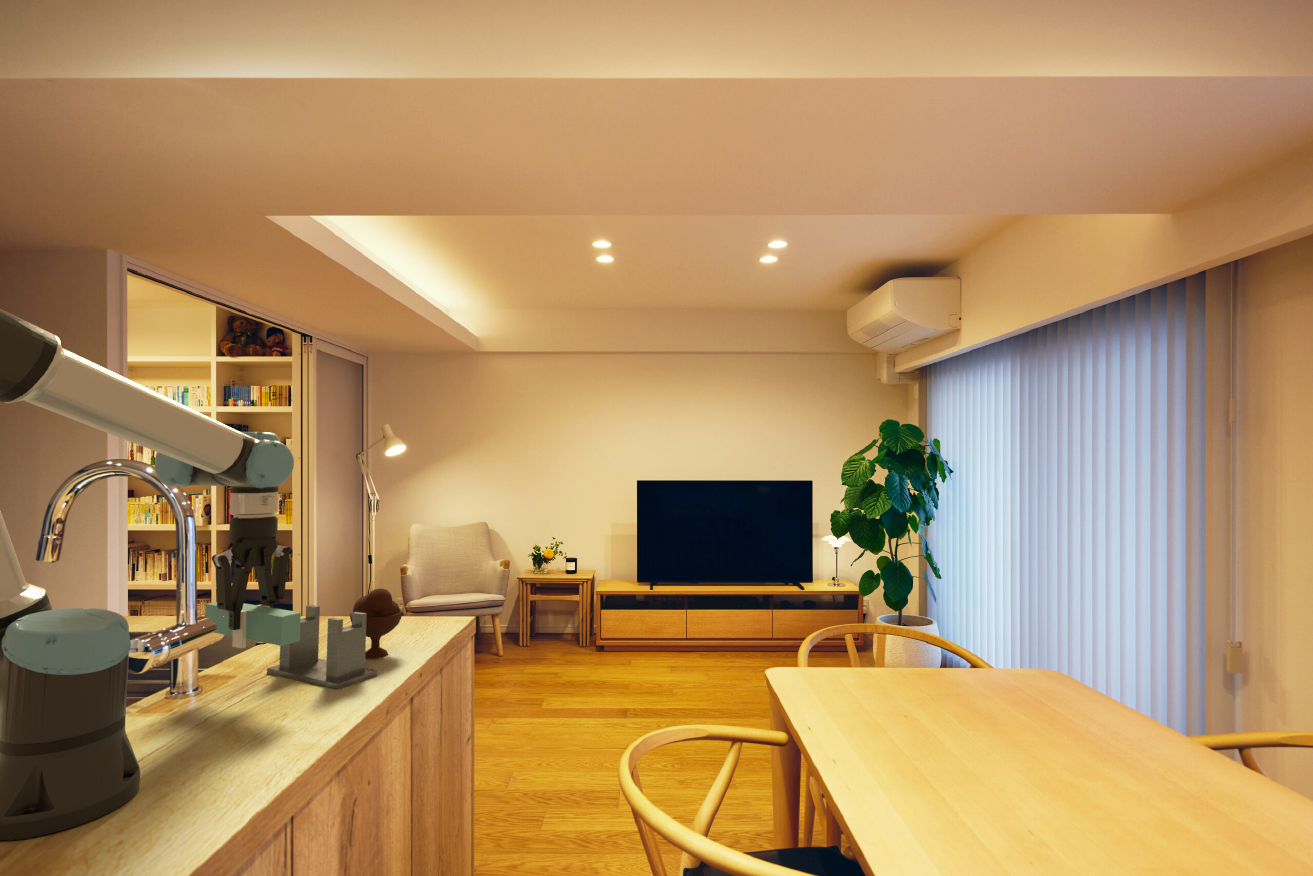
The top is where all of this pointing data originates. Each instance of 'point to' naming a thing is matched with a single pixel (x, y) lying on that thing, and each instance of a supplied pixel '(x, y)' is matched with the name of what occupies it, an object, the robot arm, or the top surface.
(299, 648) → the hook standards
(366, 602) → the ice cream bowl
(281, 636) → the rail
